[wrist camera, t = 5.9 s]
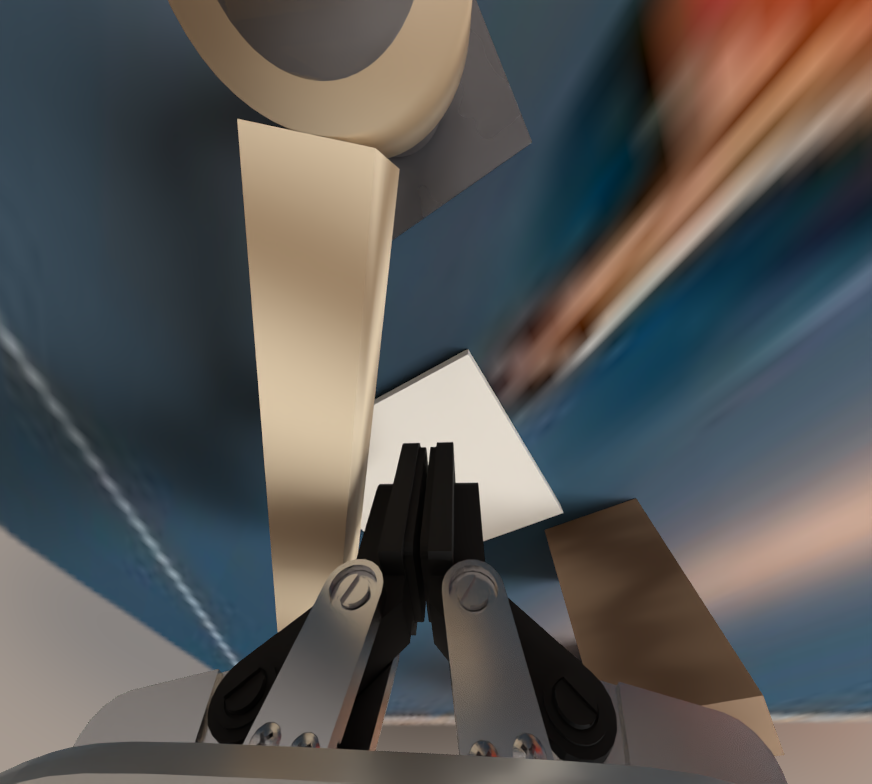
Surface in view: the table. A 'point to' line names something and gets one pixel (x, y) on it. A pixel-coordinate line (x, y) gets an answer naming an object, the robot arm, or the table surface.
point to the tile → (461, 444)
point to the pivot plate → (462, 135)
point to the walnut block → (648, 617)
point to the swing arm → (324, 234)
